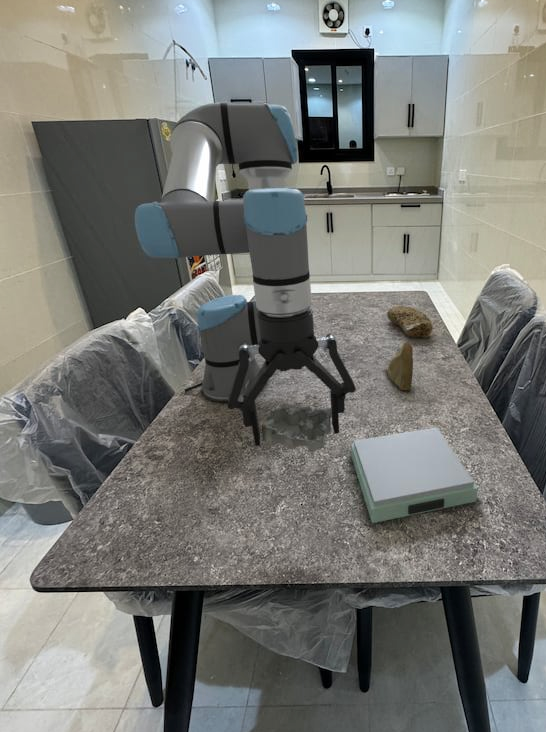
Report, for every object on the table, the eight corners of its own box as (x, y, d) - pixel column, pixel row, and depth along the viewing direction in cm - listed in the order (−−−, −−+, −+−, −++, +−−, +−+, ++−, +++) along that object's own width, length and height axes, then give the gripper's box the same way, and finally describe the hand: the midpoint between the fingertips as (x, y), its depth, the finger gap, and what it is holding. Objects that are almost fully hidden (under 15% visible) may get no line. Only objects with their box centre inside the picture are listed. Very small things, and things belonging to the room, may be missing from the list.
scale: (372, 525, 60) (372, 506, 59) (351, 455, 75) (350, 439, 73) (477, 503, 64) (479, 485, 62) (437, 441, 78) (438, 425, 77)
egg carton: (256, 446, 60) (253, 424, 58) (277, 417, 67) (274, 397, 65) (321, 456, 58) (319, 434, 56) (336, 425, 64) (334, 405, 62)
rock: (421, 386, 93) (427, 363, 101) (400, 361, 91) (408, 339, 99) (387, 401, 99) (395, 378, 107) (366, 378, 97) (377, 356, 105)
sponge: (436, 341, 126) (420, 309, 142) (435, 321, 122) (419, 291, 138) (397, 349, 126) (386, 317, 142) (394, 330, 121) (383, 299, 138)
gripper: (187, 327, 47) (216, 463, 56) (376, 309, 52) (375, 437, 61) (196, 306, 54) (221, 431, 63) (363, 293, 59) (364, 410, 68)
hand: (297, 434), depth 62 cm, fingers closed on egg carton, 12 cm apart
